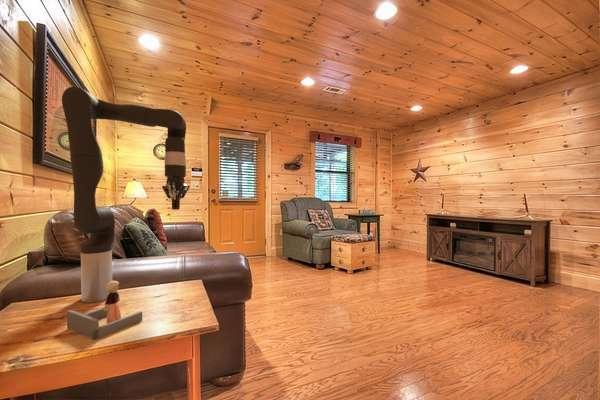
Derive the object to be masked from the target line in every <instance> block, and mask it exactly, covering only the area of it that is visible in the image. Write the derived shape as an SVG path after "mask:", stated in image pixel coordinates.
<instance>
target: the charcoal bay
mask: <svg viewBox="0 0 600 400" xmlns="http://www.w3.org/2000/svg"><path fill="white" fill-rule="evenodd" d="M108 308H109V307H108ZM107 312H108V310H107V311H104V307H101V308H99V309H95V310H92V311H89V312H86V313H81V312H79V311H76V310H73V309H70V310H67V311H66V324H67V325H66V328H67V330H70V331H73V332H75V333H77V334H80V335H82V336H84V337H87V338H89V339H91V340H94V341H95V340H98V339H101V338H102V337H105V336H108V335H111V334H112V333H113V334H114V333H115V332H117V331H120V330H122V329H124V328H127V327H130V326H132V325H134V324H137V323H140V322H141V321H143V311H141V310H140V311H137V312H135V313H132V314H129V315H127V316H125V317H121V319H119V320H116V321H114V322H111V323H108V324H107V323H106V324H104V325H101V326H100V324H99V323H100V321H99V319H101V318H104V317H107Z"/></svg>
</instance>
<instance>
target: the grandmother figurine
mask: <svg viewBox="0 0 600 400" xmlns="http://www.w3.org/2000/svg"><path fill="white" fill-rule="evenodd" d="M119 285H120V282H119V281H117V280H112V281H111V282H109V283H108V284H107V285H106V288H107V290H108V291H109V292H110V294H109V295H108V296H107V299H106V300H105V302H104V306H103V308H104V311H107V310H108V312H107V316H106V324H108V323H111V322H114V321H116V320H119V319H122V314H121V309H120V304H119V302H120V300H121V299H120V295H119V292H118V291H119ZM108 307H109V308H108Z"/></svg>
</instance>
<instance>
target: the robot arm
mask: <svg viewBox="0 0 600 400" xmlns="http://www.w3.org/2000/svg"><path fill="white" fill-rule="evenodd" d="M61 105H62V108H63V109H62V110H63V113H64V117H65V121H66V122H65V123H66V127H67V136H68V145H69V154H70V155H69V156H70V166H71V172H72V185H73V222H74V227H75V228H76V230H77V231H78V232H79V233H81V234H83V235H90V236H89V238H88V239H87V240H86V241H84V242H83V243H82V244H80V287H81V288H80V292H81V293H80V295H81V299H80V300H81V302H82V303H90V304H91V303H97V302H101V301H106V300H107V296H108V295H109V294H110V292H109V291H108V290H107V288H106V285H107V284H108V283H109V282H111V281H113V247H112V246H113V244H114V241H115V232H116V231H115V228H116V222H115V221H116V219H115V214H114V213H113V210H111V209H110V208H109V207H106V206H97V204H96V191H97V188H98V186H99V184H100V182H101V179H102V177H103V174H104V161H103V153H102V150H101V147H100V145H99V142H98V139H97V138H96V135H95V133H94V130H93V126H92V120H108V121H109V120H110V121H118V122H122V123H123V122H125V123H129V124H134V125H139V126H146V127H151V128H155V127H161V128H166V129H167V137H166V138H165V142H164V177H166V184H165V185H162V186H161V188H162V190H163V191H164V194H165V196H166V197H167V199H170V200H171V210H174V211H175V210H176V211H177V210H180V208H181V207H180V206H181V203H180V202H181V201H180V200H182V199H184V198H185V197H186V194H187V193H188V191H189V189H190V185H188V184H186V180H185V178H186V177H187V167H186V165H187V159H186V144H185V143H186V142H185V141H186V134H187V133H186V132H187V123H186V120H185V117H183V115H182V114H181V113H180V112H179V111H176V110H173V109H168V108H153V107H149V106H144V105H139V104H129V103H128V104H126V103H125V104H119V103H118V104H117V103H112V102H108V101H105V100H102V99H100V98H97V97H95V96H94V95H93V94H91V93H90V92H88V91H87V90H85V89H83V88H81V87H78V86H69V87H67V88H66V89H65V90H64V91H63V93H62V95H61Z"/></svg>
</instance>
